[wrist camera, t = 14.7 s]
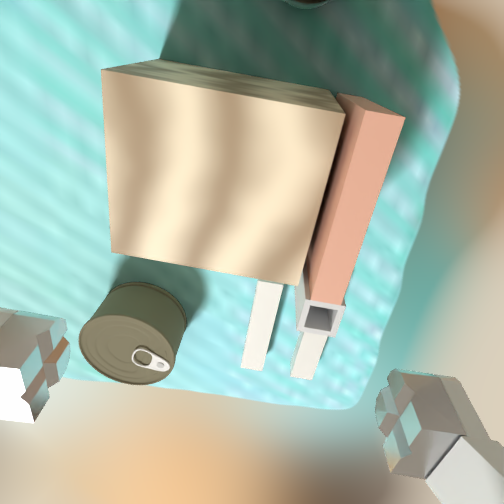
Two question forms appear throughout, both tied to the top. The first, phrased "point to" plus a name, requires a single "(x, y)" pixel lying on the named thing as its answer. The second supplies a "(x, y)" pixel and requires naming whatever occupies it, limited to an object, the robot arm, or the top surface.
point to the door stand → (261, 330)
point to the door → (345, 212)
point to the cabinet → (216, 167)
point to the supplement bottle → (306, 3)
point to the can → (134, 334)
